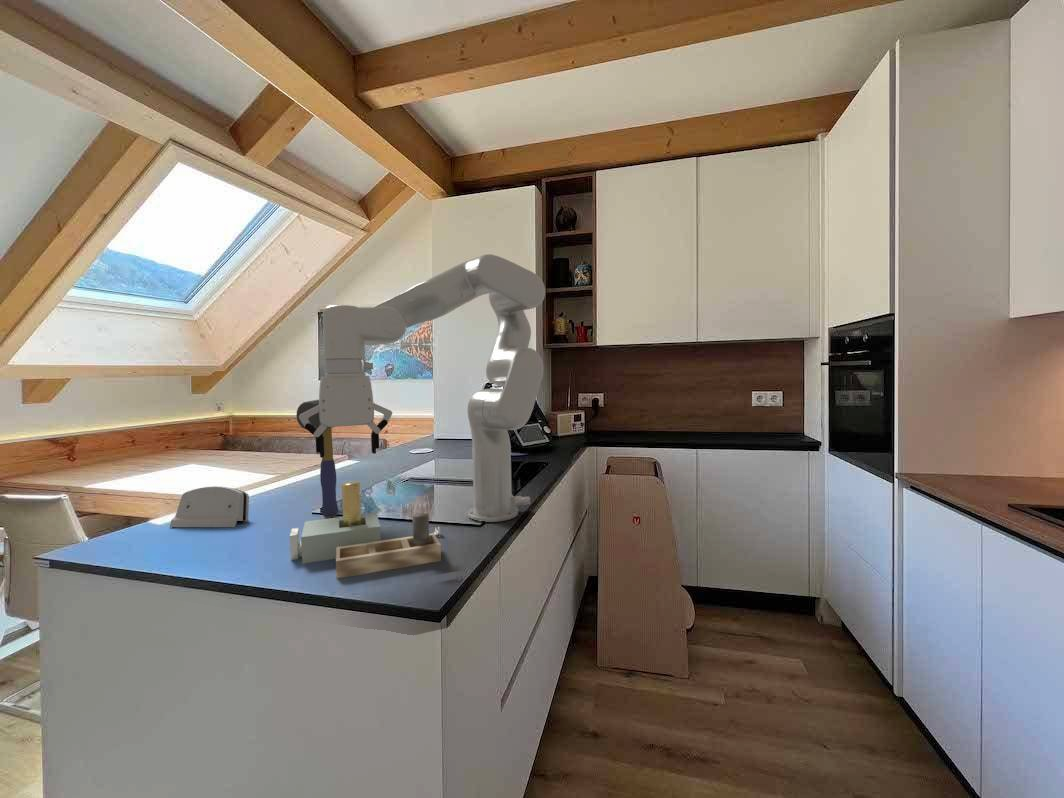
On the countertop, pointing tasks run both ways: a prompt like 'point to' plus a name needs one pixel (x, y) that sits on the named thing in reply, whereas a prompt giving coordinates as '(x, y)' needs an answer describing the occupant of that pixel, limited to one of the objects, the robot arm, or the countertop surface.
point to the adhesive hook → (437, 531)
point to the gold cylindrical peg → (351, 504)
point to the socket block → (336, 536)
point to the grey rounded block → (211, 508)
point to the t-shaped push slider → (295, 544)
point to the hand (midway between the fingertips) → (348, 454)
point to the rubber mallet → (324, 462)
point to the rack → (390, 551)
